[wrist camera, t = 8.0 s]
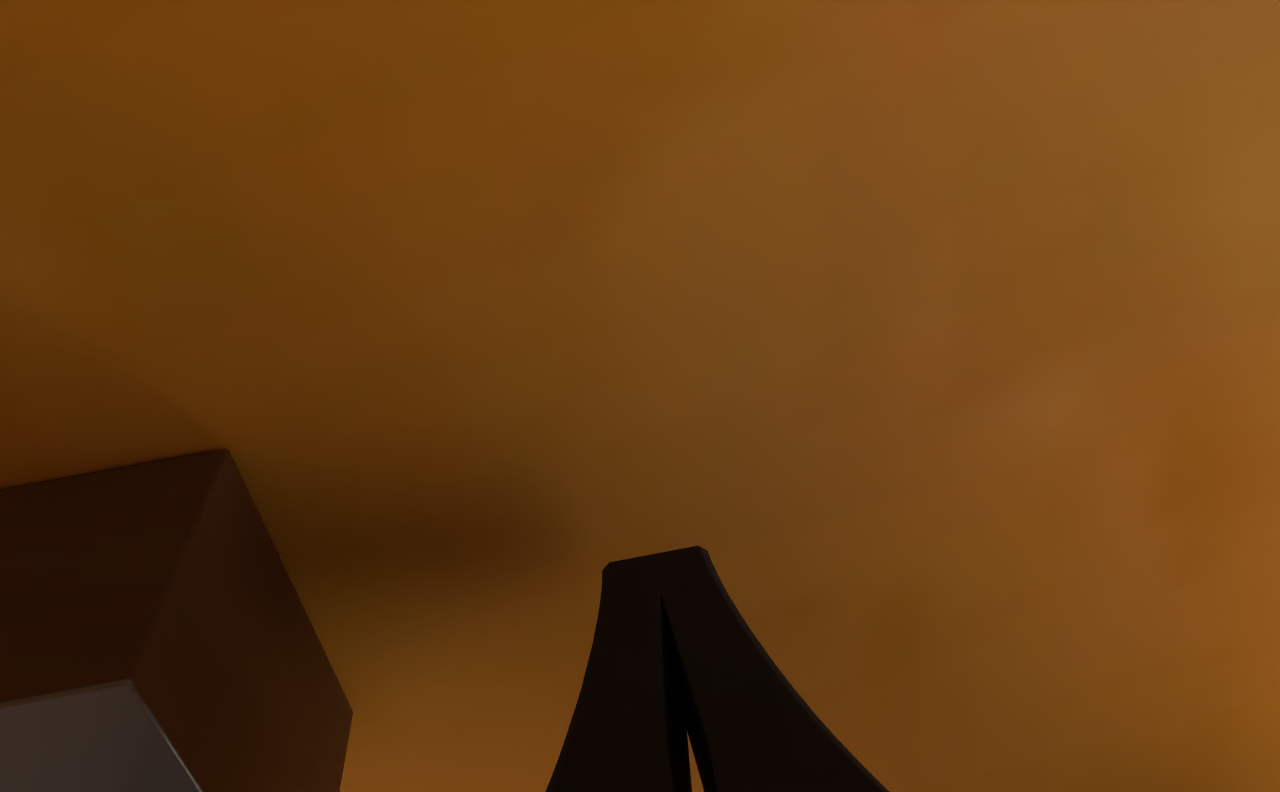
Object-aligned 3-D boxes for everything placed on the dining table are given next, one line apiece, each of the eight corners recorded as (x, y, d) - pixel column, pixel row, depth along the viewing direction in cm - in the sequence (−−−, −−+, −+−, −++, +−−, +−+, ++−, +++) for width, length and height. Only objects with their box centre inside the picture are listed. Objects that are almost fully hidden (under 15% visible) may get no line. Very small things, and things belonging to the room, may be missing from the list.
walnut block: (353, 711, 16) (311, 960, 13) (23, 773, 16) (-107, 1040, 13) (228, 446, 13) (128, 681, 10) (-181, 521, 13) (-424, 783, 10)
